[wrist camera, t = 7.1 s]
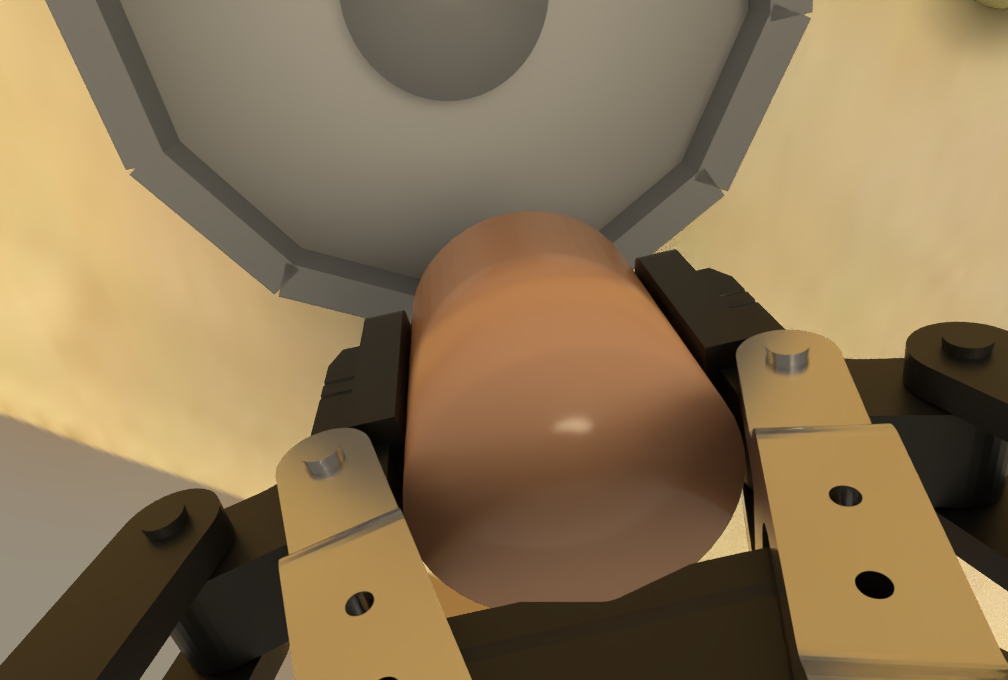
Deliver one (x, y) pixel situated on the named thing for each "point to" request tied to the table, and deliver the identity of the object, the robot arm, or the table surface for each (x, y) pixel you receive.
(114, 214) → the table surface
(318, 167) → the ring tray
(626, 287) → the terracotta bead
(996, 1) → the pale green rounded cylinder
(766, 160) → the table surface
